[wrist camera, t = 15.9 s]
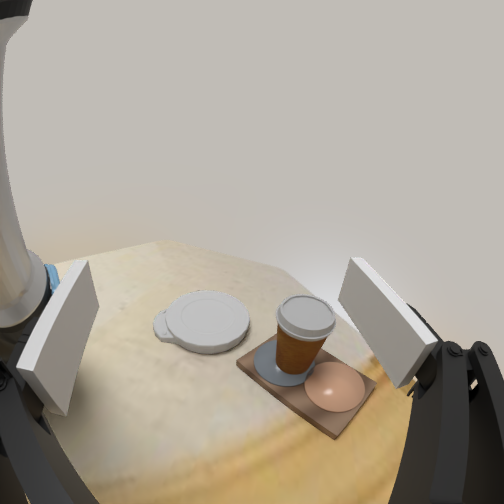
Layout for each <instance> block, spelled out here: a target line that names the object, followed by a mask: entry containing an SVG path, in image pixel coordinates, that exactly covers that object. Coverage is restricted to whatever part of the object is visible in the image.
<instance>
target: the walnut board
mask: <svg viewBox="0 0 504 504" xmlns="http://www.w3.org/2000/svg"><path fill="white" fill-rule="evenodd" d="M273 340H277V334H275V335H274V336H272V337H271V338H269V339H268V340H267V341H265V342H264V343H262V344H261V345H263V344H265V343H267V342H269V341H273ZM261 345H259V346H258V347H256V348H255V349H253V350H252V351H250V352H248V353H247V354H245V355H244V356H242V357H241V358H239V359H238V360H237V362H236V365H237V366H238V367H239V368H240V369H241V370H242V371H244V372H245V373H246V374H247V375H248V376H250V377H251V378H252V379H253V380H254V381H256V382H257V383H258V384H259V385H260V386H262V387H263V388H264V389H265V390H267V391H268V392H269V393H270V394H272V395H273V396H274V397H276V398H277V399H278V400H279V401H281V402H282V403H283V404H285V405H286V406H287V407H289V408H290V409H291V410H293V411H294V412H295V413H297V414H298V415H299V416H301V417H302V418H304V419H305V420H306V421H308V422H309V423H311V424H312V425H313V426H315V427H316V428H318V429H319V430H321V431H322V432H323V433H325V434H326V435H328V436H329V437H331V438H332V439H335V438H336V437H337V436H338V435H339V433H340V432H341V431H342V430H343V429H344V427H345V426H346V425H347V424H348V422H349V421H350V420H351V419H352V417H353V416H354V415H355V413H356V412H357V411H358V409H359V408H360V407H361V405H362V404H363V403H364V401H365V400H366V398H367V397H368V396H369V394H370V393H371V391H372V390H373V388H374V387H375V385H376V384H377V383H376V382H375V381H373V380H371V379H370V378H368V377H366V376H365V375H363V374H362V373H360V372H358V371H357V370H355V369H354V370H355V371H356V372H357V373H358V374H359V375H360V376H361V378H362V380H363V382H364V385H365V394H364V397H363V399H362V401H361V402H360V403H359V404H358V405H357V406H356V407H355V408H353V409H352V410H349V411H346V412H340V413H336V412H329V411H326V410H323V409H321V408H319V407H318V406H316V405H315V404H314V403H313V402H312V401H311V400H310V399H309V398H308V396H307V394H306V392H305V388H304V383H302V384H300V385H297V386H293V387H282V386H277V385H274V384H271V383H269V382H267V381H266V380H264V379H263V378H262V377H261V376H260V375H259V374H258V373H257V371H256V369H255V367H254V355H255V353H256V351H257V349H258V348H259V347H260V346H261ZM314 362H315V366H316V365H318V364H320V363H324V362H338V363H342V364H345V363H344V362H342V361H340V360H339V359H337V358H336V357H334V356H332V355H331V354H329V353H328V352H326V351H325V350H323V349H320V350H319V352H318V354H317V355H316V357H315V359H314ZM345 365H347V364H345ZM347 366H348V365H347ZM349 367H350V366H349ZM351 368H352V367H351ZM352 369H353V368H352Z"/></svg>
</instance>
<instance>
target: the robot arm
mask: <svg viewBox="0 0 504 504" xmlns="http://www.w3.org/2000/svg"><path fill="white" fill-rule="evenodd" d="M32 1H33V0H0V504H28V502H27V499H26V496H25V494H26V495H27V497H28V499H29V501H30V503H31V504H99V503H98V501H97V500H96V499H95V497H94V496H93V495H92V493H91V492H90V491H89V489H88V488H87V487H86V485H85V484H84V482H83V481H82V480H81V478H80V477H79V475H78V474H77V472H76V471H75V469H74V468H73V466H72V464H71V463H70V461H69V460H68V458H67V456H66V455H65V453H64V451H63V449H62V448H61V446H60V444H59V442H58V441H57V439H56V437H55V435H54V433H53V431H52V429H51V427H50V425H49V423H48V421H47V419H46V417H45V415H44V414H43V413H42V410H43V406H45V407H46V408H47V409H48V410H49V412H50V413H53V414H57V415H62V416H67V413H68V408H69V404H70V399H71V395H72V391H73V387H74V383H75V380H76V376H77V372H78V369H79V365H80V362H81V359H82V355H83V352H84V349H85V346H86V343H87V340H88V337H89V334H90V331H91V328H92V325H93V322H94V320H95V317H96V314H97V311H98V309H99V303H98V300H97V296H96V292H95V288H94V284H93V280H92V276H91V272H90V267H89V263H88V260H74V262H73V263H72V265H71V266H70V268H69V269H68V271H67V273H66V274H65V276H64V277H63V279H62V280H61V282H60V281H59V277H58V273H57V270H56V267H55V266H54V265H47V264H44V265H43V263H42V261H41V259H40V258H39V256H38V255H36V254H35V253H34V252H32V251H30V250H28V249H26V246H25V242H24V239H23V236H22V233H21V229H20V226H19V222H18V218H17V214H16V210H15V206H14V202H13V197H12V192H11V187H10V182H9V176H8V170H7V163H6V156H5V146H4V135H3V117H2V88H3V87H2V86H3V69H4V59H5V51H6V45H7V43H8V41H9V39H10V38H11V36H12V35H13V34H14V33H15V32H16V31H17V30H18V29H19V28H20V27H21V26H22V25H23V24H24V23H25V22H26V21H27V19H28V15H29V11H30V7H31V3H32ZM338 301H339V302H340V303H341V305H342V306H343V308H344V309H345V311H346V312H347V313H348V315H349V317H350V318H351V320H352V321H353V323H354V324H355V326H356V327H357V329H358V330H359V332H360V333H361V335H362V336H363V338H364V339H365V341H366V342H367V344H368V345H369V347H370V348H371V350H372V351H373V353H374V355H375V356H376V358H377V359H378V361H379V362H380V364H381V365H382V367H383V369H384V370H385V372H386V373H387V375H388V377H389V378H390V380H391V381H392V383H393V385H394V386H395V388H396V389H397V388H400V387H402V386H405V385H408V384H409V383H410V381H411V380H412V379H413V377H414V376H416V378H417V379H418V380H417V382H416V383H415V384H414V385H413V387H412V388H411V389H410V391H409V392H408V394H407V396H409V395H410V394H411V393H412V392H413V391H414V394H413V396H412V398H413V402H412V409H411V415H410V421H409V427H408V432H407V437H406V442H405V447H404V451H403V455H402V459H401V463H400V467H399V471H398V474H397V478H396V481H395V484H394V487H393V491H392V494H391V497H390V500H389V502H388V504H504V380H503V377H502V374H501V372H500V369H499V367H498V364H497V362H496V360H495V357H494V355H493V353H492V351H491V349H490V347H489V346H488V345H487V344H485V343H483V342H481V341H476V342H475V343H474V344H473V346H472V347H471V349H469V350H463V349H462V348H461V347H460V346H459V345H458V344H456V343H454V342H451V341H446V342H444V341H443V340H442V339H441V338H440V337H439V336H438V334H437V333H436V332H435V331H434V330H433V329H432V327H431V326H430V325H429V324H428V323H426V321H425V319H424V318H423V317H421V315H420V314H419V313H418V312H417V311H416V309H414V308H413V307H411V306H410V305H408V304H407V303H405V302H404V301H403V300H402V299H401V298H400V297H399V296H398V295H397V293H396V292H395V291H394V290H393V289H392V288H391V287H390V286H389V285H388V284H387V283H386V282H385V281H384V280H383V279H382V277H381V276H380V275H379V274H378V273H377V272H376V271H375V270H374V269H373V268H372V267H371V266H370V265H369V264H368V263H367V262H366V261H365V260H364V259H363V258H362V257H361V258H350V261H349V264H348V268H347V271H346V275H345V278H344V281H343V285H342V288H341V291H340V294H339V298H338ZM475 379H477V382H478V384H477V385H476V386H475V388H474V389H472V388H471V386H470V385H471V384H472V383H473V382H474V380H475ZM24 492H25V493H24Z"/></svg>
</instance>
